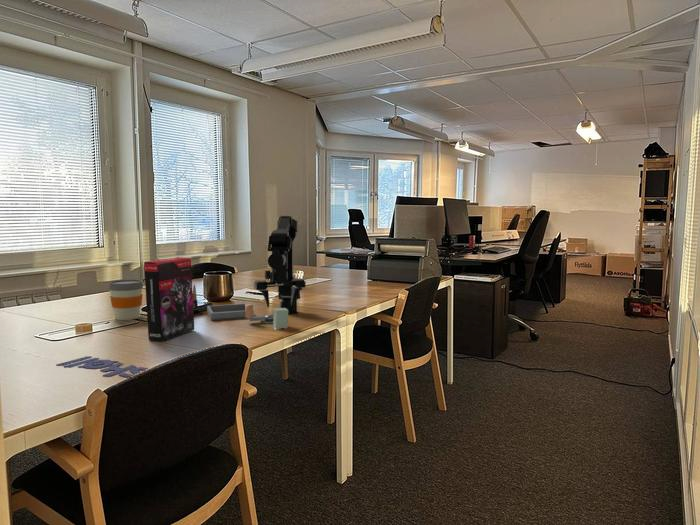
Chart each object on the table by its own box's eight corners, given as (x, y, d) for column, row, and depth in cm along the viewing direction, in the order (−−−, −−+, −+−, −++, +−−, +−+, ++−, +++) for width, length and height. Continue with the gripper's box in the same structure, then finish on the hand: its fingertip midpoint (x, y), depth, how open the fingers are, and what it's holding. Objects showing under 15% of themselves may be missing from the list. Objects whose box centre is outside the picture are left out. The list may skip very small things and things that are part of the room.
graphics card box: (161, 342, 161) (159, 262, 158) (145, 340, 164) (142, 261, 161) (195, 330, 177) (193, 257, 174) (179, 329, 179) (177, 256, 176)
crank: (273, 318, 194) (273, 302, 193) (275, 320, 190) (275, 304, 189) (244, 320, 190) (244, 304, 189) (246, 322, 186) (246, 306, 185)
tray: (246, 310, 214) (246, 303, 213) (253, 317, 199) (253, 310, 199) (207, 312, 207) (207, 305, 207) (211, 320, 193) (211, 313, 192)
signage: (156, 368, 134) (125, 380, 125) (156, 371, 134) (125, 382, 125) (88, 354, 146) (56, 364, 137) (88, 356, 146) (56, 366, 137)
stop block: (284, 325, 186) (285, 308, 185) (287, 328, 182) (288, 310, 181) (273, 326, 184) (274, 308, 184) (275, 328, 180) (276, 310, 179)
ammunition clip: (176, 315, 202) (175, 287, 201) (173, 314, 203) (173, 286, 202) (198, 311, 211) (197, 284, 209) (195, 310, 212) (194, 283, 210)
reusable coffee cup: (149, 317, 197) (148, 281, 195) (117, 322, 188) (116, 285, 186) (136, 313, 205) (134, 278, 204) (105, 317, 196) (103, 281, 195)
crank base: (275, 319, 196) (275, 317, 196) (286, 329, 181) (286, 327, 181) (258, 320, 193) (258, 319, 193) (267, 330, 178) (267, 328, 178)
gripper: (297, 262, 191) (298, 301, 193) (251, 264, 184) (251, 304, 186) (306, 265, 181) (306, 306, 183) (256, 267, 174) (257, 309, 176)
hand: (280, 306), depth 182 cm, fingers open, 9 cm apart
